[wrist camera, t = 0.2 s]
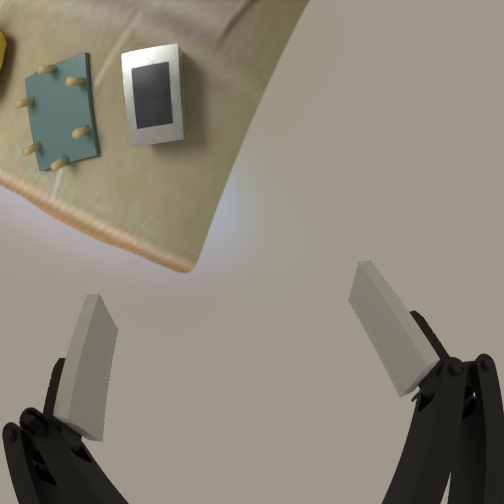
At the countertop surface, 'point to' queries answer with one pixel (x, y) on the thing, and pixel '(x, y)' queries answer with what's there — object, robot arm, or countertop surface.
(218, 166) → the countertop surface
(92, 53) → the countertop surface
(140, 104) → the grey box
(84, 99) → the pegboard
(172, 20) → the countertop surface
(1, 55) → the teapot
